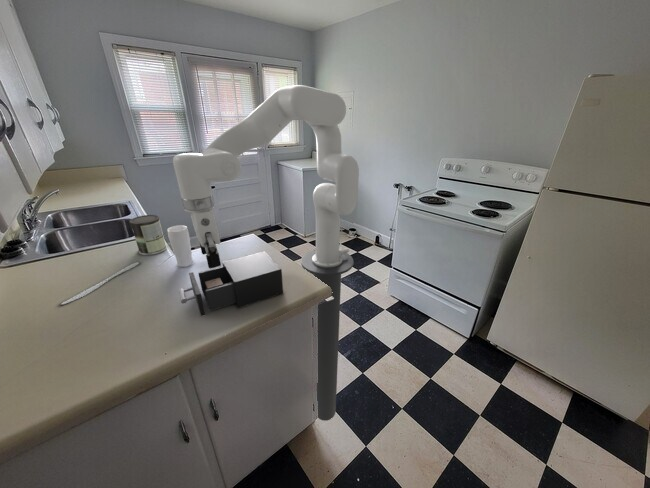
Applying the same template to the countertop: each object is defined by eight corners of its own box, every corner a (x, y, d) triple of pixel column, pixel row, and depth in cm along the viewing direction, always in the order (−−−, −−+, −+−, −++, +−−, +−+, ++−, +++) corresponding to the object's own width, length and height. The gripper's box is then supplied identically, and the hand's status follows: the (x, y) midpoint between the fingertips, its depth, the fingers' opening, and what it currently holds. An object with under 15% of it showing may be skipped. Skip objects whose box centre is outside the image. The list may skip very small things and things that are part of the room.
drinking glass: (187, 258, 109) (178, 223, 102) (199, 262, 106) (191, 226, 100) (172, 266, 103) (162, 229, 97) (184, 270, 100) (175, 233, 94)
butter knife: (142, 262, 104) (135, 261, 105) (66, 305, 81) (58, 303, 81) (142, 263, 105) (136, 262, 105) (66, 307, 81) (59, 304, 82)
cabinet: (238, 308, 81) (234, 282, 77) (226, 284, 92) (222, 261, 88) (283, 293, 88) (281, 268, 84) (266, 273, 99) (264, 251, 95)
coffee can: (135, 256, 110) (124, 224, 104) (144, 245, 119) (135, 215, 113) (162, 254, 112) (153, 222, 106) (170, 243, 121) (162, 214, 115)
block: (221, 289, 86) (219, 277, 84) (225, 296, 83) (223, 284, 81) (207, 293, 84) (204, 281, 82) (210, 300, 80) (207, 288, 79)
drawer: (185, 321, 74) (180, 299, 71) (179, 296, 84) (174, 276, 81) (248, 301, 82) (245, 280, 79) (236, 280, 93) (233, 262, 90)
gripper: (221, 209, 66) (232, 268, 74) (207, 193, 79) (217, 245, 87) (188, 214, 63) (203, 277, 70) (179, 197, 76) (192, 251, 83)
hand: (211, 259), depth 78 cm, fingers open, 9 cm apart
